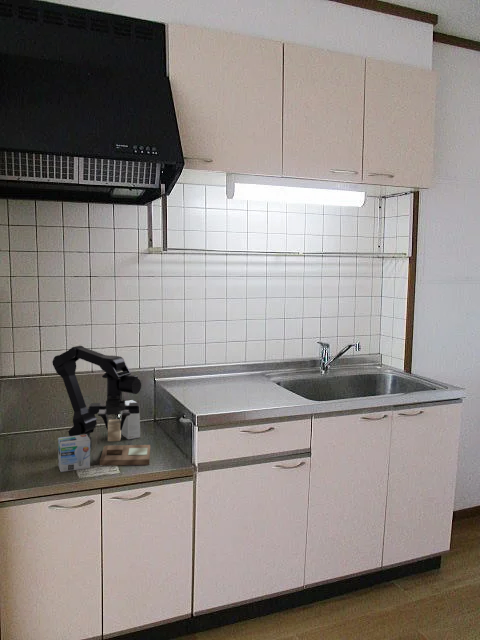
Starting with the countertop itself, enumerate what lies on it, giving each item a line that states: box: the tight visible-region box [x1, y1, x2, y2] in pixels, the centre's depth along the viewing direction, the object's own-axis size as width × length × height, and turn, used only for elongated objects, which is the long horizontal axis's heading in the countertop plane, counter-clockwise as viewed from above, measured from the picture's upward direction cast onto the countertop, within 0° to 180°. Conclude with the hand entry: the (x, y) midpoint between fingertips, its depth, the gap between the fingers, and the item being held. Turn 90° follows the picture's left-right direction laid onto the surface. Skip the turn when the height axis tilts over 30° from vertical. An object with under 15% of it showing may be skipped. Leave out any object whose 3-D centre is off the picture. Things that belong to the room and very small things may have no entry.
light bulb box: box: [57, 434, 91, 473], centre depth 190 cm, size 11×7×11 cm, turn 117°
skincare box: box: [120, 399, 141, 440], centre depth 224 cm, size 8×6×15 cm
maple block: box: [107, 418, 122, 442], centre depth 199 cm, size 4×4×7 cm
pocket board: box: [99, 444, 151, 466], centre depth 201 cm, size 18×15×2 cm
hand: (114, 430), depth 199 cm, fingers closed on maple block, 4 cm apart
